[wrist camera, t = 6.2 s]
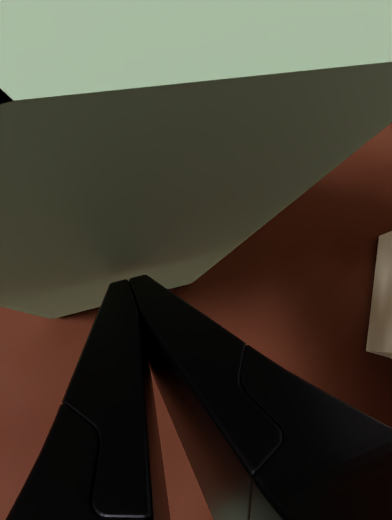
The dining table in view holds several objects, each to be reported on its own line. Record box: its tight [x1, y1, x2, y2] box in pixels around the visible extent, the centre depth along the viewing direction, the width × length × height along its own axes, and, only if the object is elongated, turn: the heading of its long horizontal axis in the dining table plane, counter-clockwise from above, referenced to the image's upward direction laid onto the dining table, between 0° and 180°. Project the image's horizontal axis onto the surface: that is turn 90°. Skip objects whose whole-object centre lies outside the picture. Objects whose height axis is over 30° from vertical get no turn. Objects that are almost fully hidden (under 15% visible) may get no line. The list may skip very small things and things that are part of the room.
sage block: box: [0, 0, 392, 319], centre depth 9 cm, size 6×6×13 cm
